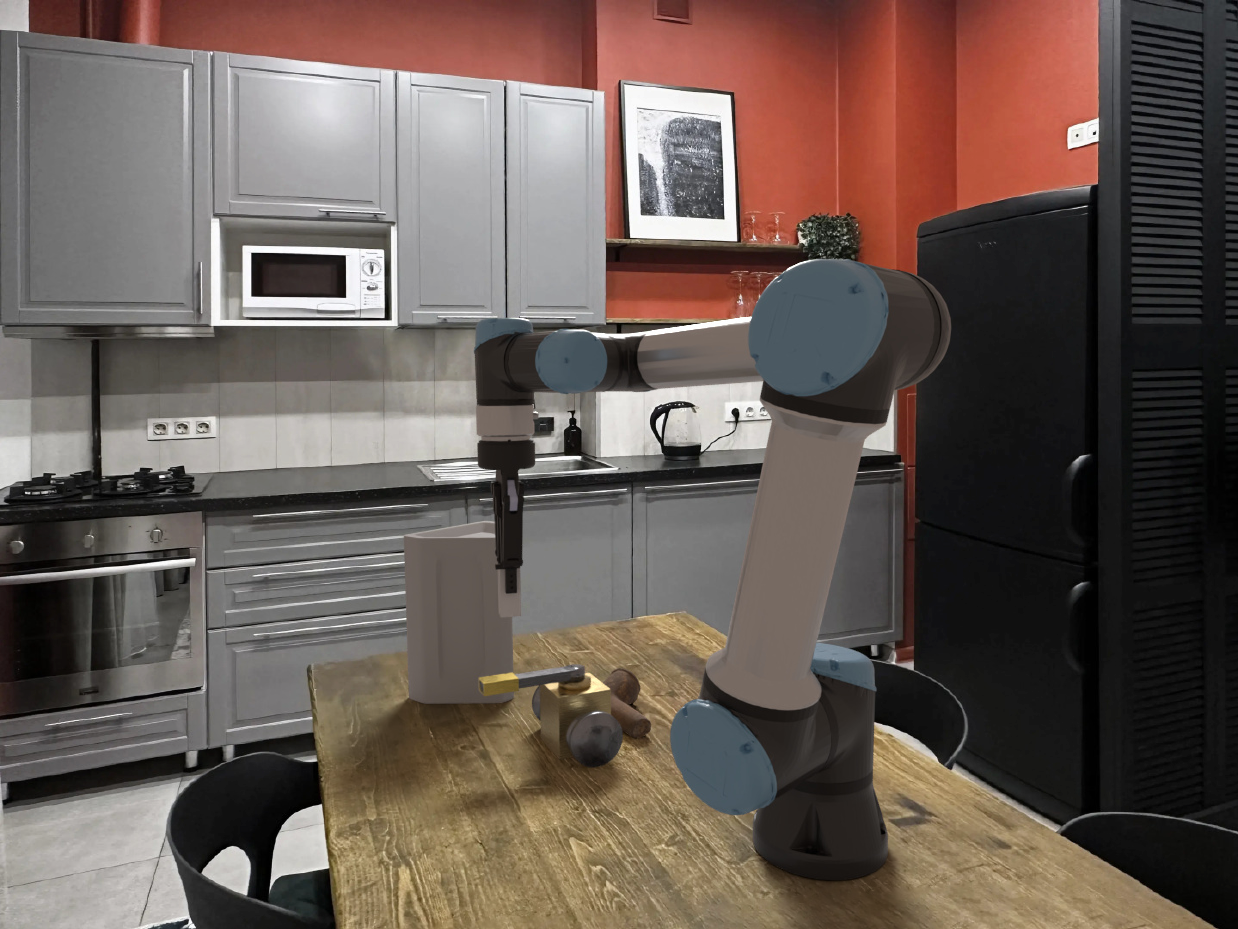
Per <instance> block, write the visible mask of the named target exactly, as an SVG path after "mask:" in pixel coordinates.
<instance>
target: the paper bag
mask: <svg viewBox="0 0 1238 929" xmlns="http://www.w3.org/2000/svg"><path fill="white" fill-rule="evenodd" d="M495 550H496V544H495V521H493V520H492V521H491V520H483V521H482V520H481V521H476V522H471V523H464V524H460V525H452V526H448V527H442V528H437V529H431V530H424V531H419V532H412V533H408V534H403V553H404V555H403V556H404V557H403V558H404V559H403V561H404V584H405V588H404V589H405V618H406V619H405V620H406V621H405V622H406V646H407V647H406V648H407V651H406V652H407V674H408V675H407V678H408V683H407V684H408V699H409V700H411V701H416V702H418V703H421V704H426V705H427V704H429V705H430V704H431V705H432V704H433V705H434V704H436V705H437V704H502V703H506V702H508V701H511V700H513V699H514V698H515V691H514V692H508V693H502V694H496V695H490V696H483V694H482V693H481V692H480V691H479V677H486V676H492V675H499V674H505V673H512V672H513V673H514V633H513V630H514V629H513V617H502V618H501V617H500V614H499V607H498V570H496V569H495V564H498V561H497V557H496V554H495Z"/></svg>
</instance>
